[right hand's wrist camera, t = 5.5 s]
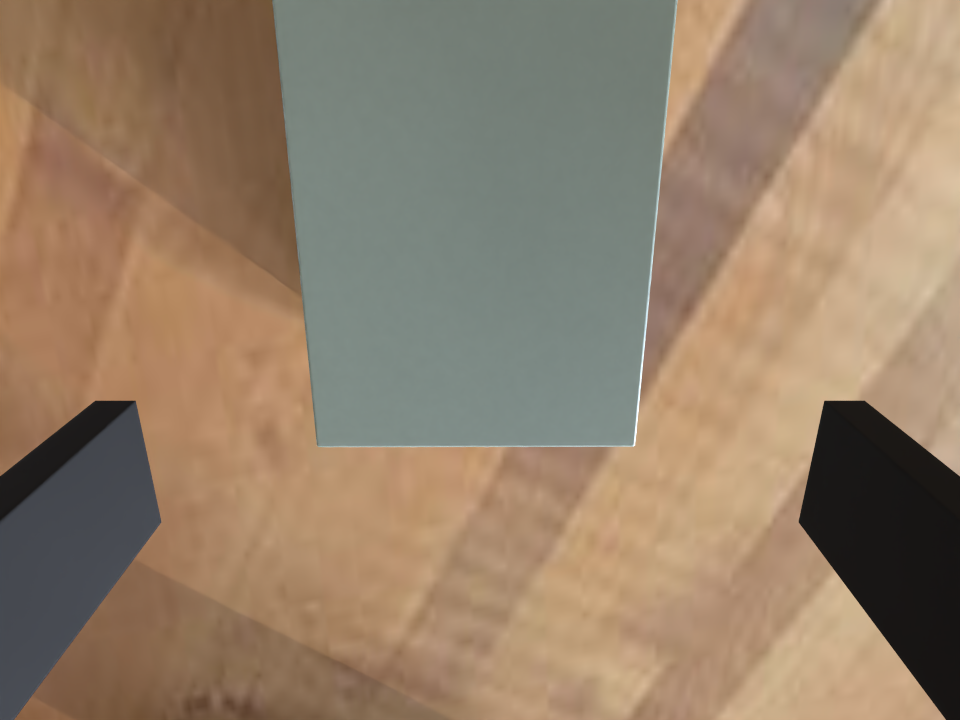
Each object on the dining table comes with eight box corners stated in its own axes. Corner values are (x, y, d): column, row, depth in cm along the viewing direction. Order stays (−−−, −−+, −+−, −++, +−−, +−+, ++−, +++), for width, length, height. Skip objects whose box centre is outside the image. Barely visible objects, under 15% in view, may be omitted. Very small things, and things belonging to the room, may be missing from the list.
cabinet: (329, -182, 24) (235, -365, 15) (620, -181, 24) (713, -364, 15) (365, 344, 31) (316, 448, 22) (588, 343, 31) (635, 447, 22)
